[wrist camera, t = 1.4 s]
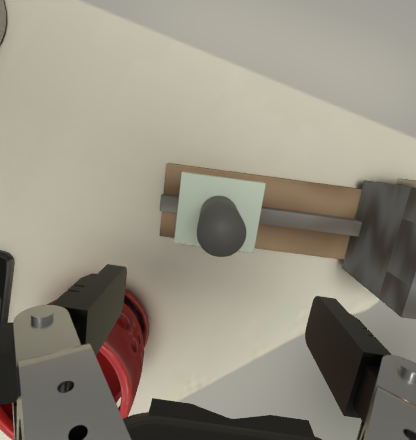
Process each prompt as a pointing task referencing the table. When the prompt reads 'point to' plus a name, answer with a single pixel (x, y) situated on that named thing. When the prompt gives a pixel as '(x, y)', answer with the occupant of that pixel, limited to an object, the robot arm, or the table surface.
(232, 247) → the mint plate with knob
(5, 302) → the phone
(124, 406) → the plant pot
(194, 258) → the table surface
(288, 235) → the rail
